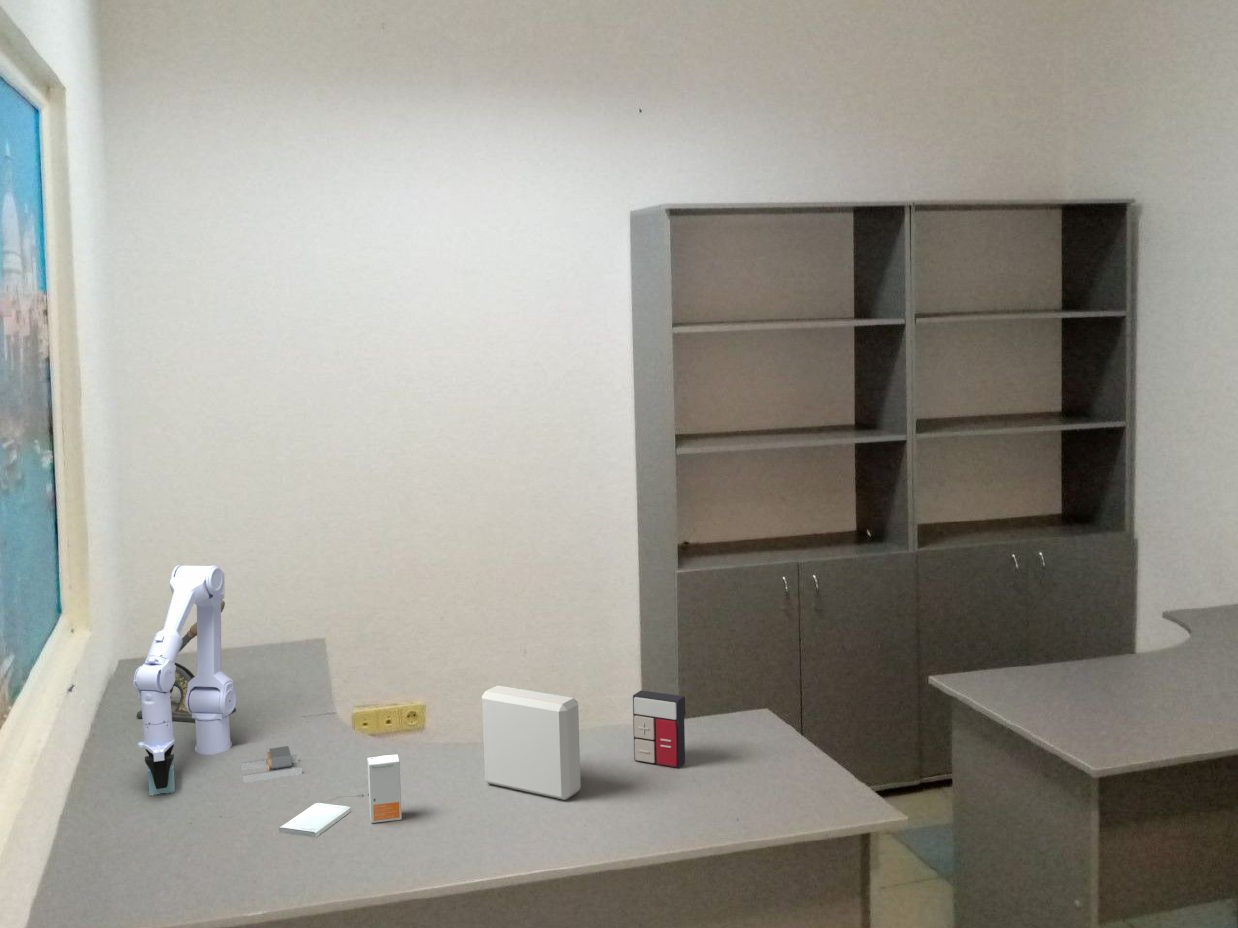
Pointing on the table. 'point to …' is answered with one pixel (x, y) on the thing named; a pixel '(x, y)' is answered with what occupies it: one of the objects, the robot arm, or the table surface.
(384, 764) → the skincare box
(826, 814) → the table surface
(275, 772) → the frame
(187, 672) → the embossing press
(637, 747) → the calculator
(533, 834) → the table surface
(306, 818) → the hard drive
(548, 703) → the bevelled white case
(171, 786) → the block
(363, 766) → the table surface
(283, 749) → the block
